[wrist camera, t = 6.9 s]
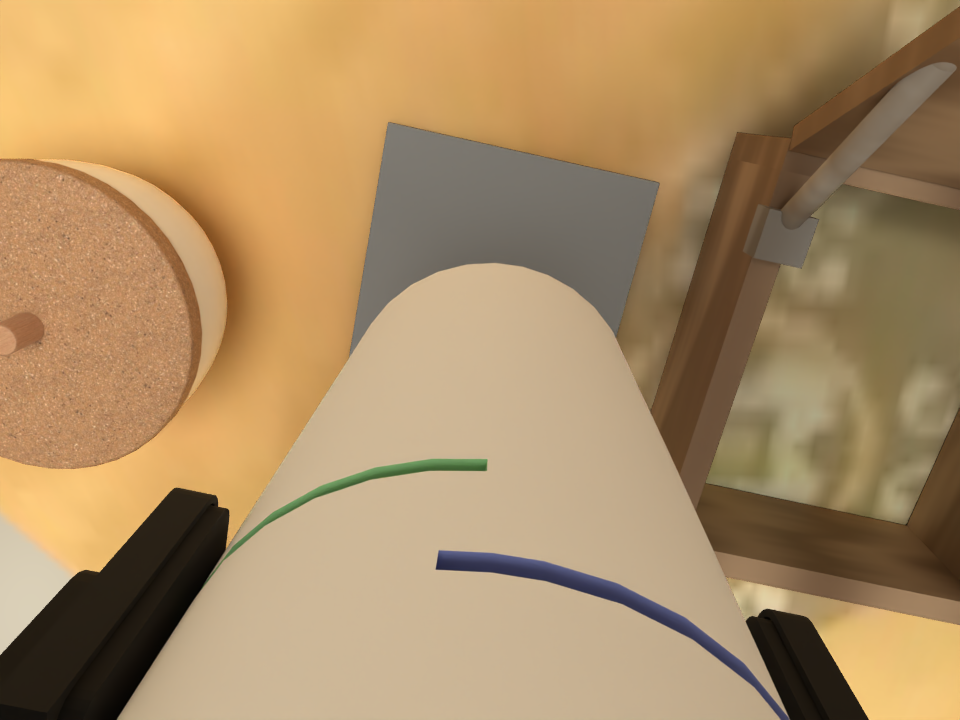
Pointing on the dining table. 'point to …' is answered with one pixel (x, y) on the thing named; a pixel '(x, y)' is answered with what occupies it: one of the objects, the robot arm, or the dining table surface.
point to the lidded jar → (98, 311)
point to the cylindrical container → (470, 539)
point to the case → (740, 307)
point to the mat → (499, 220)
